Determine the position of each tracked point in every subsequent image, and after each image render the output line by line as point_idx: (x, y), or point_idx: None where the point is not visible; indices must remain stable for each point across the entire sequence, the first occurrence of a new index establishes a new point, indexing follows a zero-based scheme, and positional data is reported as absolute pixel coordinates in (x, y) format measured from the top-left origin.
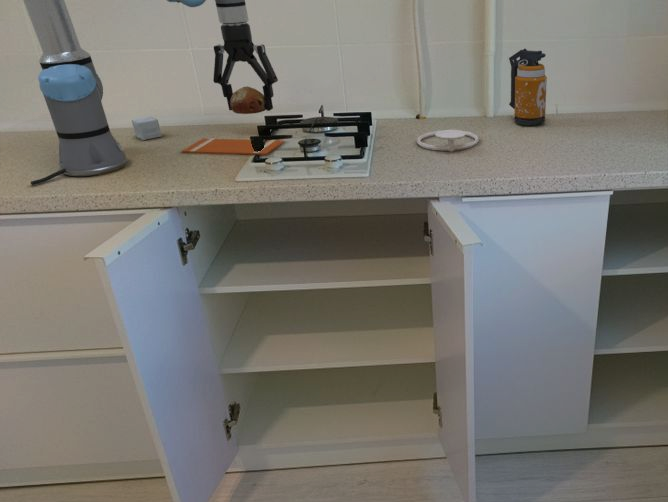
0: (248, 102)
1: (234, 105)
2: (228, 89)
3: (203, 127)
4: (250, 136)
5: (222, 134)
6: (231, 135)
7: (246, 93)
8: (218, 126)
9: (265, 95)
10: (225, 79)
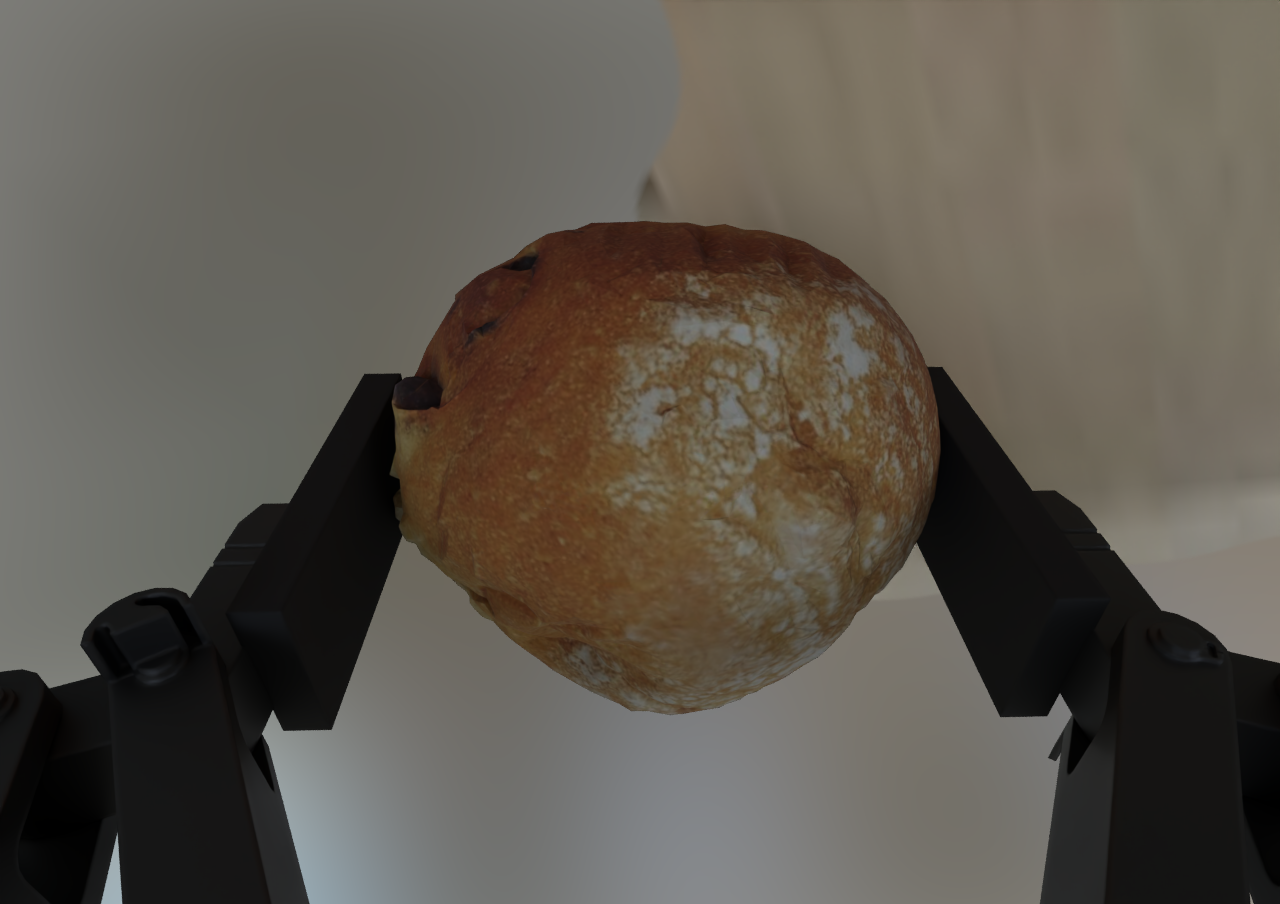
0: (549, 295)
1: (819, 271)
2: (1010, 576)
3: (1203, 437)
4: (658, 194)
5: (982, 240)
6: (877, 213)
7: (602, 450)
8: (1070, 472)
9: (312, 501)
10: (1125, 717)
